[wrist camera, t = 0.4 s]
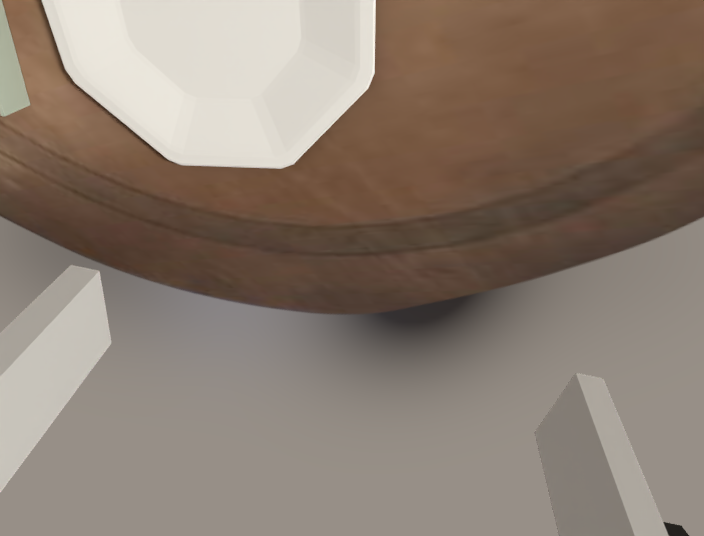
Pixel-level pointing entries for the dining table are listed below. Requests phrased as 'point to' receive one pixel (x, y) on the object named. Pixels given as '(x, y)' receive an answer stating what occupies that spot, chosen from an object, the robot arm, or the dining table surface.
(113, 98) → the plate
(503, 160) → the dining table surface
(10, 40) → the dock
